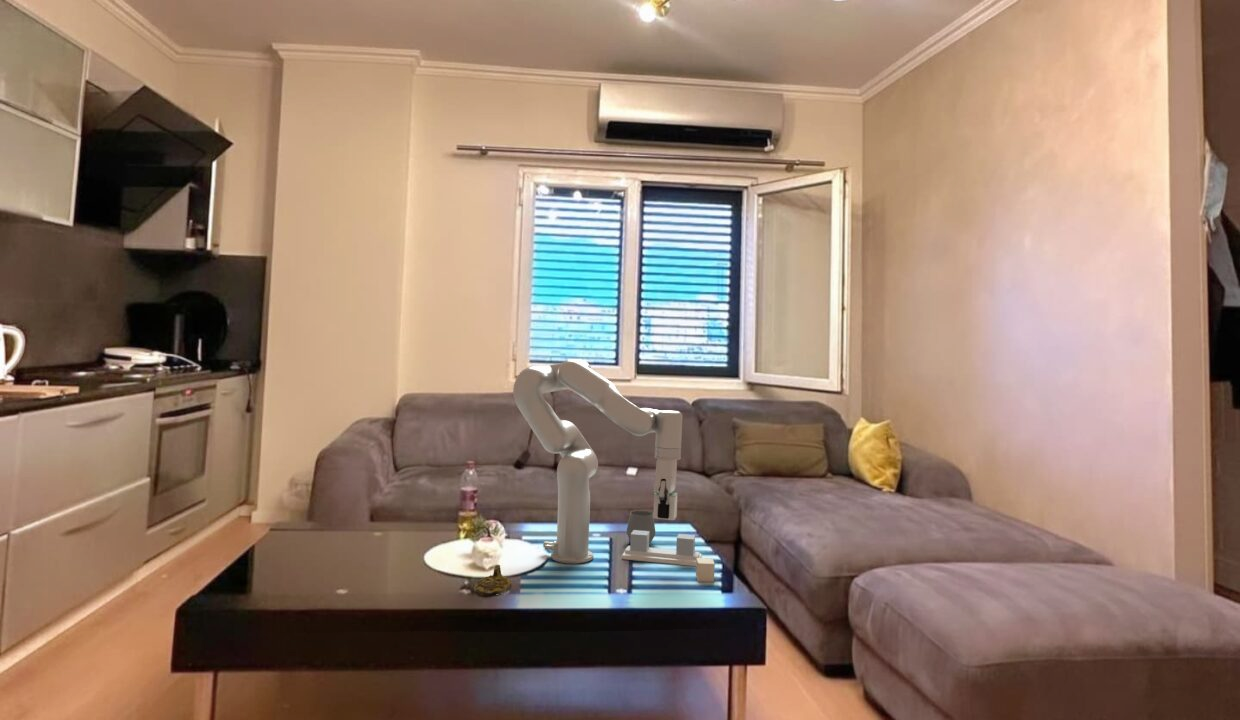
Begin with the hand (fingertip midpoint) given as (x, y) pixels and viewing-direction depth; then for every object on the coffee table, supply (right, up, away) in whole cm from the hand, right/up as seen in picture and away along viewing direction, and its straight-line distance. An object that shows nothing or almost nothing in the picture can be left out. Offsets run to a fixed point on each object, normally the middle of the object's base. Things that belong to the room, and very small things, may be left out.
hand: (664, 515), depth 196 cm
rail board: (0, -15, +9) cm, 17 cm away
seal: (-46, -14, -21) cm, 53 cm away
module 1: (0, -1, 0) cm, 1 cm away
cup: (-6, -15, +24) cm, 29 cm away
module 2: (+11, -16, -9) cm, 21 cm away
